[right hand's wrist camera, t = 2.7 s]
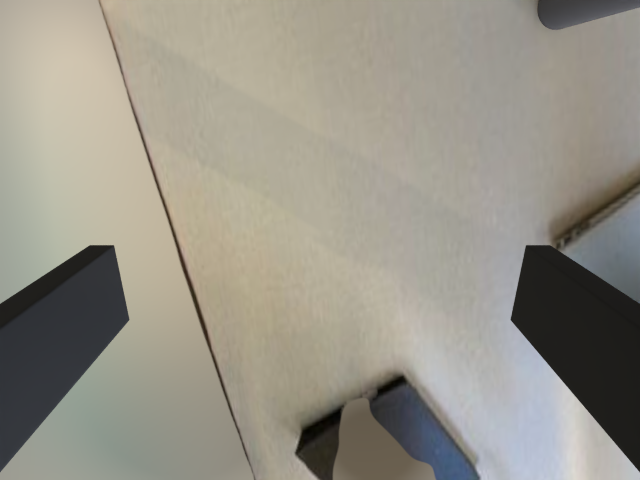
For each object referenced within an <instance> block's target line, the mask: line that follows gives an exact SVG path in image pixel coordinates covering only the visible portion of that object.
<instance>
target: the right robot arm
mask: <svg viewBox="0 0 640 480" xmlns="http://www.w3.org/2000/svg"><path fill="white" fill-rule="evenodd" d="M128 321H129V316H128V311H127V306H126V301H125V296H124V292H123V287H122V282H121V277H120V272H119V268H118V263H117V258H116V253H115V248H114V245H90V246H88V247H87V248H85V249H84V250H82V251H81V252H79V253H78V254H76V255H74V256H73V257H71V258H70V259H68V260H67V261H65V262H64V263H62V264H61V265H59V266H58V267H56V268H55V269H53V270H51V271H50V272H48V273H47V274H45V275H44V276H42V277H41V278H39V279H38V280H36V281H35V282H33V283H32V284H30V285H28V286H27V287H25V288H24V289H22V290H21V291H19V292H18V293H16V294H15V295H13V296H12V297H10V298H9V299H7V300H6V301H4V302H2V303H1V304H0V472H1V470H2V469H3V468H4V467H5V466H6V465H7V463H8V462H9V461H10V460H11V459H12V458H13V456H14V455H15V454H16V453H17V452H18V450H19V449H20V448H21V447H22V446H23V445H24V443H25V442H26V441H27V440H28V439H29V438H30V436H31V435H32V434H33V433H34V432H35V430H36V429H37V428H38V427H39V426H40V425H41V423H42V422H43V421H44V420H45V419H46V417H47V416H48V415H49V414H50V413H51V412H52V410H53V409H54V408H55V407H56V406H57V404H58V403H59V402H60V401H61V400H62V399H63V397H64V396H65V395H66V394H67V393H68V392H69V390H70V389H71V388H72V387H73V386H74V384H75V383H76V382H77V381H78V380H79V379H80V377H81V376H82V375H83V374H84V373H85V371H86V370H87V369H88V368H89V367H90V366H91V364H92V363H93V362H94V361H95V360H96V359H97V357H98V356H99V355H100V354H101V353H102V351H103V350H104V349H105V348H106V347H107V346H108V344H109V343H110V342H111V341H112V340H113V339H114V337H115V336H116V335H117V334H118V333H119V331H120V330H121V329H122V328H123V327H124V326H125V324H126V323H127V322H128ZM511 321H512V322H513V323H514V324H515V326H516V327H517V328H518V329H519V330H520V331H521V333H522V334H523V335H524V336H525V337H526V339H527V340H528V341H529V342H530V343H531V344H532V346H533V347H534V348H535V349H536V350H537V351H538V353H539V354H540V355H541V356H542V357H543V359H544V360H545V361H546V362H547V363H548V364H549V366H550V367H551V368H552V369H553V370H554V372H555V373H556V374H557V375H558V376H559V377H560V379H561V380H562V381H563V382H564V383H565V384H566V386H567V387H568V388H569V389H570V390H571V392H572V393H573V394H574V395H575V396H576V397H577V399H578V400H579V401H580V402H581V403H582V405H583V406H584V407H585V408H586V409H587V410H588V412H589V413H590V414H591V415H592V416H593V417H594V419H595V420H596V421H597V422H598V423H599V425H600V426H601V427H602V428H603V429H604V430H605V432H606V433H607V434H608V435H609V436H610V438H611V439H612V440H613V441H614V442H615V443H616V445H617V446H618V447H619V448H620V449H621V450H622V452H623V453H624V454H625V455H626V456H627V458H628V459H629V460H630V461H631V462H632V463H633V465H634V466H635V467H636V468H637V469H638V471H639V472H640V304H639V303H638V302H636V301H635V300H633V299H631V298H630V297H628V296H627V295H625V294H624V293H622V292H621V291H619V290H618V289H616V288H615V287H613V286H612V285H610V284H608V283H607V282H605V281H604V280H602V279H601V278H599V277H598V276H596V275H595V274H593V273H592V272H590V271H589V270H587V269H585V268H584V267H582V266H581V265H579V264H578V263H576V262H575V261H573V260H572V259H570V258H569V257H567V256H566V255H564V254H563V253H561V252H559V251H558V250H556V249H555V248H553V247H552V246H550V245H526V248H525V253H524V258H523V263H522V267H521V272H520V277H519V282H518V287H517V292H516V296H515V301H514V306H513V311H512V316H511Z"/></svg>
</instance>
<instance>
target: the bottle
mask: <svg viewBox="0 0 640 480" xmlns="http://www.w3.org/2000/svg"><path fill="white" fill-rule="evenodd" d="M639 7H640V0H539V4H538V15H539V18H540V21H541V22H542V23H543V25H544V26H546V27H547V28H550V29H554V30H557V29H562V28H566V27H570V26H573V25H577V24H580V23H584V22H588V21H591V20H595V19H599V18H602V17H606V16H610V15H613V14H617V13H620V12H624V11H628V10H631V9H635V8H639Z"/></svg>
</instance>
